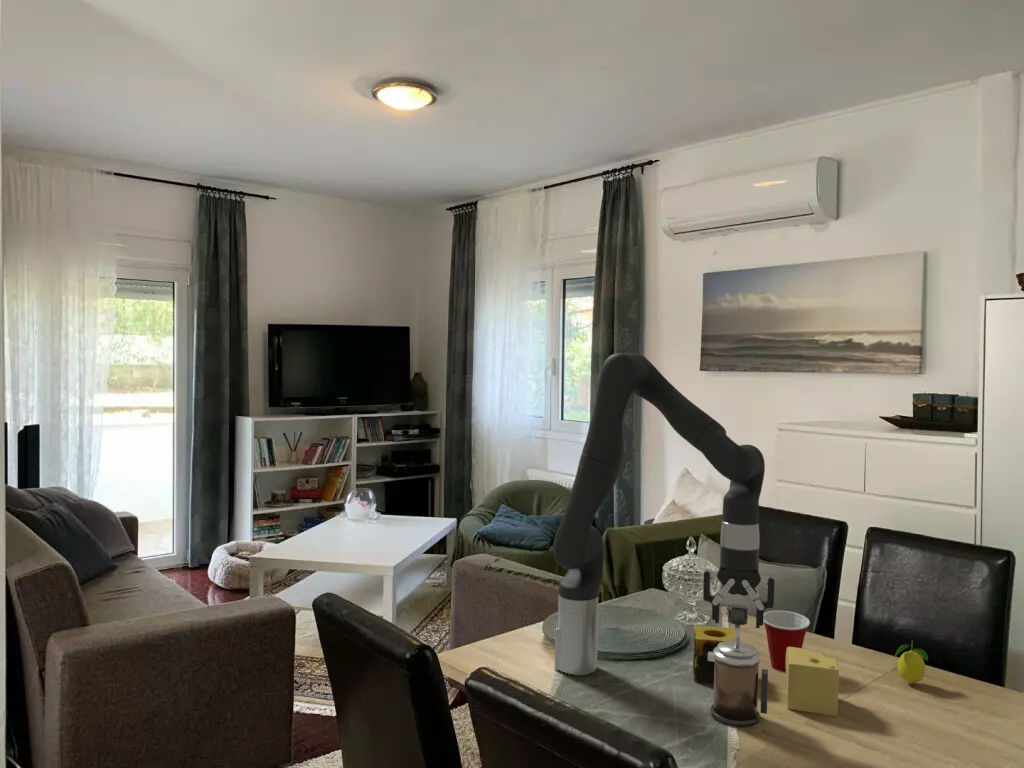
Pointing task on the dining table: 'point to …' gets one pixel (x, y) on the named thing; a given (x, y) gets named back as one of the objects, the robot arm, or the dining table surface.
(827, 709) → the cheese
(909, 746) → the dining table surface
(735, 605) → the plunger
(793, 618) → the plastic cup
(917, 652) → the lemon
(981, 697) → the dining table surface
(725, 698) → the carafe
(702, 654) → the yellow patterned cube
